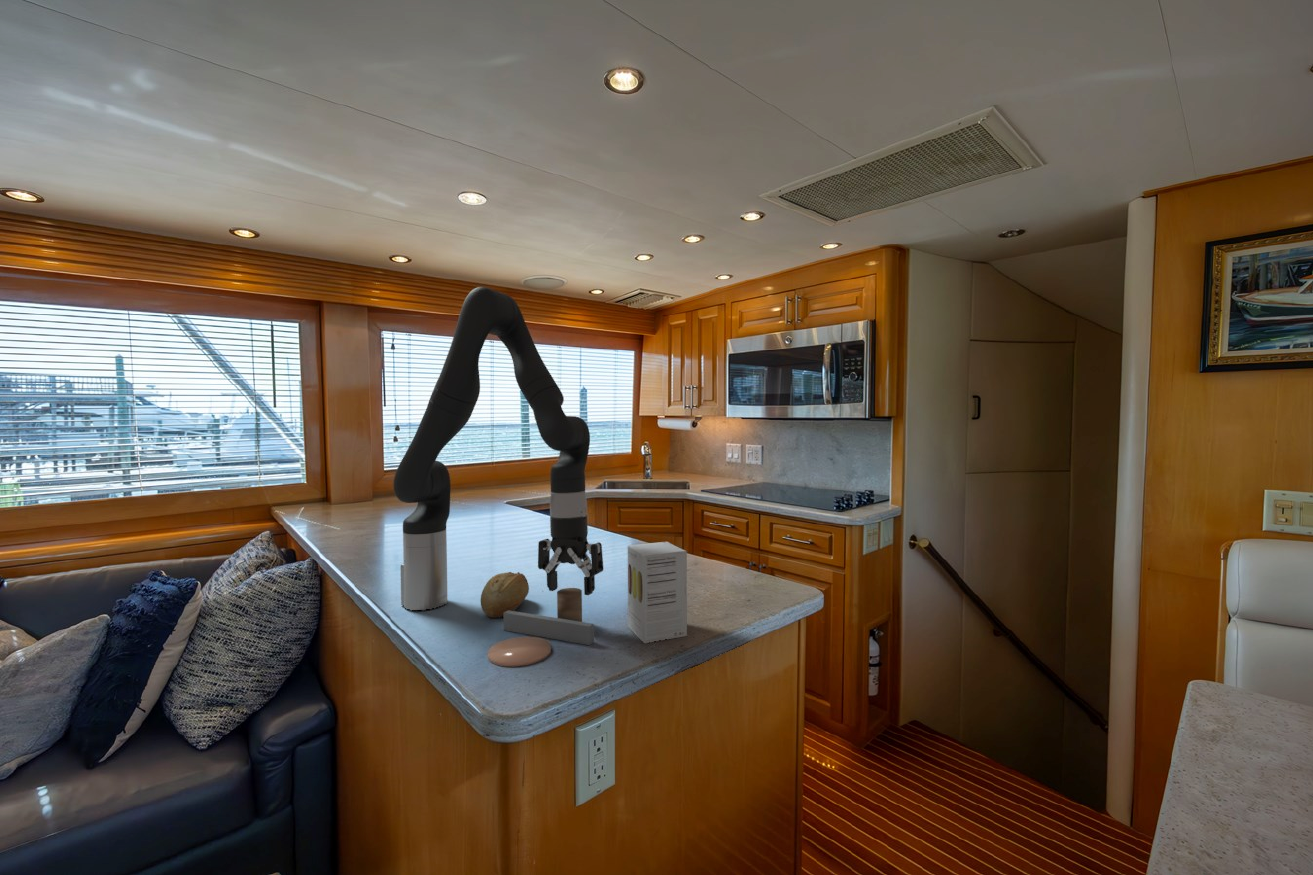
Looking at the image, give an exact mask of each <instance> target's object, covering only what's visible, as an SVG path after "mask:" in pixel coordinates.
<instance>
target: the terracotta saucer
mask: <svg viewBox="0 0 1313 875" xmlns="http://www.w3.org/2000/svg"><path fill="white" fill-rule="evenodd" d="M551 652H552V644H551V642H550V641H549V640H547V639H545V638H543V637H539V636H518V637H511V638H508V639H504V640H502V641H499V642H496V643H495V644H493V645H491V647H490V648H488V651H487V659H488V661H489V662H490V663H491V664H493V665H496V666H498V667H500V666H501V667H507V668H509V667H510V668H511V667H512V668H513V667H522V666H528V665H532V664H536V663H538V662H540V661H543V660H544V659H546V658H547V657H549V655H550V654H551Z"/></svg>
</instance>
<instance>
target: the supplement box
mask: <svg viewBox="0 0 1313 875" xmlns="http://www.w3.org/2000/svg"><path fill="white" fill-rule="evenodd" d="M687 556H688V551H687V550H685V549H683V548H680V547H678V546H676V545H674V544H672V543H670V542H669V541H661V542H660V541H659V542H649V543H637V544H629V545H627V628H629V629H630V631H631V632H633V633H634V634H635V635H636V636H637V638H638V639H640V641H641V642H642V643H643V644H649V642H650V643H655V642H654V641H656V642H660V641H659V640H661V641H666V640H665V639H667V640H672V639H678V638H682V637H683V638H684V637H687V636H688V594H687V593H688V592H687V584H688V576H687V575H688V565H687V564H688V563H687V562H688V557H687Z"/></svg>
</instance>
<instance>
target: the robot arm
mask: <svg viewBox="0 0 1313 875" xmlns="http://www.w3.org/2000/svg"><path fill="white" fill-rule="evenodd" d="M489 335H493V336H496V337H497V338H498V339H499V340H500V341H501V342H502V343H503V344H504V346H505V347H506V348H507V350H508V352H509V354H510V357H511V359H512V363H513V371H514V377H515V379H516V380H515V381H516V383H517V385H518V388H519V389H520V392H521V393H522V395H523V396H524V399H525V400H526V402H527V403H528V405H529V406H530V408H531V409H532V412H533V417H534V420H535V423H536V425H537V429H538V432H539V435H540V437H541V439H542V440H543V442H544V443H545V445H547V446H548V448H550V449H552V450H554V451H556V452H557V451H558V452H559V454H558V455H559V457H558V460H557V462H555V463H554V464H553V465H552V466H551V468H550V474H549V476H550V477H549V478H550V498H549V518H550V519H549V522H550V523H549V524H550V526H549V527H550V537H551V540H550V539H549V538H545V539H544V538H543V539H542V540H540V541H538V544H537V546H538V547H537V550H538V551H537V553H538V554H537V568H538V569H539V570H543V571H545V573H546V585H547V586H546V587H547V588H548V591H550V592H554V591H556V590H558V587H559V586H558V570H557V569H558V567H559V566H560V564H570V565H576V567H577V568H578V569H579V570H581V572H582V573H583V575H584V577H583V588H584V589H583V590H584V592H583V594H584V595H585V596H590V595H591V594H593V592H594V591H595V589H596V586H595V585H596V584H595V582H596V580H595V578H596V577H595V576H597V575H598V574H600V573H602V572H604V559H603V545H602V543H601V542H596V543H589V542H588V532H589V530H588V529H589V528H588V500H587V495H586V473H585V472H586V471H585V470H586V465H587V462H588V455H589V450H590V444H591V434H590V433H591V432H590V429H589V425H588V424H587V422H586V421H585V420H584V419H583V418H581V417H579V416H571V415H569V416H568V415H566V413H565V411H564V409H563V408H562V406H563V404H564V401H565V398H564V394H563V393H562V391H561V389H560V388H559V386H558V384H557V383H556V381H555V379H554V377H553V376H552V375H551V373H550V371H549V370H548V368H547V366H546V363H544V361H543V358H542V357H541V355H540V353H539V351H538V349H537V347H536V345H535V342H534V340H533V338H532V336H531V333H530V331H529V328H528V326H527V323H526V321H525V318H524V315H523V313H522V311H521V309H520V306H519V304H518V303H517V301H516V300H515V299H514V298H512V296H510V295H508V294H506V293H504V292H500V291H497V290H495V289H493V288H489V287H487V286H477V287H476V288H473V289H472V290H471V291H470V292H469V293H468V294H467V296H466V297H465V299H464V301H463V303H462V306H461V309H460V313H459V315H458V320H457V323H456V327H455V330H454V334H453V337H452V341H451V343H450V347H449V350H448V352H447V355H446V357H445V360H444V363H443V366H442V369H441V372H440V374H439V376H438V378H437V381H436V383H435V385H434V387H433V390H432V392H431V395H430V398H429V401H428V403H427V406H426V409H425V411H424V413H423V416H422V418H421V420H420V423H419V425H418V427H417V429H416V432H415V434H414V436H413V439H412V440H411V442H410V444H409V446H408V448H407V450H406V452H405V453H404V456H403V457H402V459H401V461H400V463H399V465H398V467H397V469H396V470H395V474H394V477H393V484H392V486H393V491H394V495H395V496H396V499H398V500H399V501H400V502H402V503H405V504H416V503H417V506H416V508H415V509H414V511H413V512H412V513H411V514H409V516H407V517H406V518H404V520H403V522H402V545H403V546H402V547H403V552H402V553H403V557H402V558H403V563H402V564H400V569H399V570H400V600H401V601H400V606H401V605H404V606H403V607H405V608H406V609H405V608H404V609H405V610H407V609H410V610H409V611H412V610H422V611H427V610H426V609H430V610H433V609H432V608H434V609H437V608H436V607H438V608H440V607H439V606H441V607H442V605H443V606H445V605H447V603H448V598H449V597H448V553H447V552H448V549H447V548H448V547H447V545H448V544H447V540H448V539H447V522H448V520H449V517H450V512H451V508H450V507H451V476H450V473H449V469H448V468H447V466H446V465H445V464H444V463H443V462H441V461H440V460H439V461H438V460H437V458H438V456H439V454H440V453H441V451H443V449H444V447H445V446H446V445H448V443H449V442H450V441H451V440H452V439H454V437H455V436H456V435H458V433H459V432H460V431H462V429H463V428H464V427H465V426H466V424H467V423H468V421H469V420H470V419H471V417H472V415H473V411H474V409H475V407H476V404H477V402H478V400H479V397H480V392H481V379H480V370H479V369H480V368H479V361H480V355H481V352H482V350H483V347H484V344H485V341H486V339H487V337H488V336H489ZM550 550H552V553H553V554H552V556H551V558H550V553H551V551H550ZM587 552H588V553H589V554H590V557H589V555H588V554H587ZM444 604H445V605H444Z"/></svg>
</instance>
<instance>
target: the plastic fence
mask: <svg viewBox="0 0 1313 875" xmlns="http://www.w3.org/2000/svg"><path fill="white" fill-rule="evenodd" d="M502 617H503V631H508V632H513V633H519V634H525V635H530V636H534V637H540V638H547V639H552V640H559V641H565V642H568V643H569V642H570V643H575V644H581V645H587V646H591V645H592V644H594V643H595V630H594V629H595V625H594V623H590V622H585V621H582V622H579V621H573V620H566V619H560V618H557V617H553V616H548V615H539V614H533V613H528V612H520V611H515V610H514V611H509V610H508V611H506V612H504V613H503V616H502Z"/></svg>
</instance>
